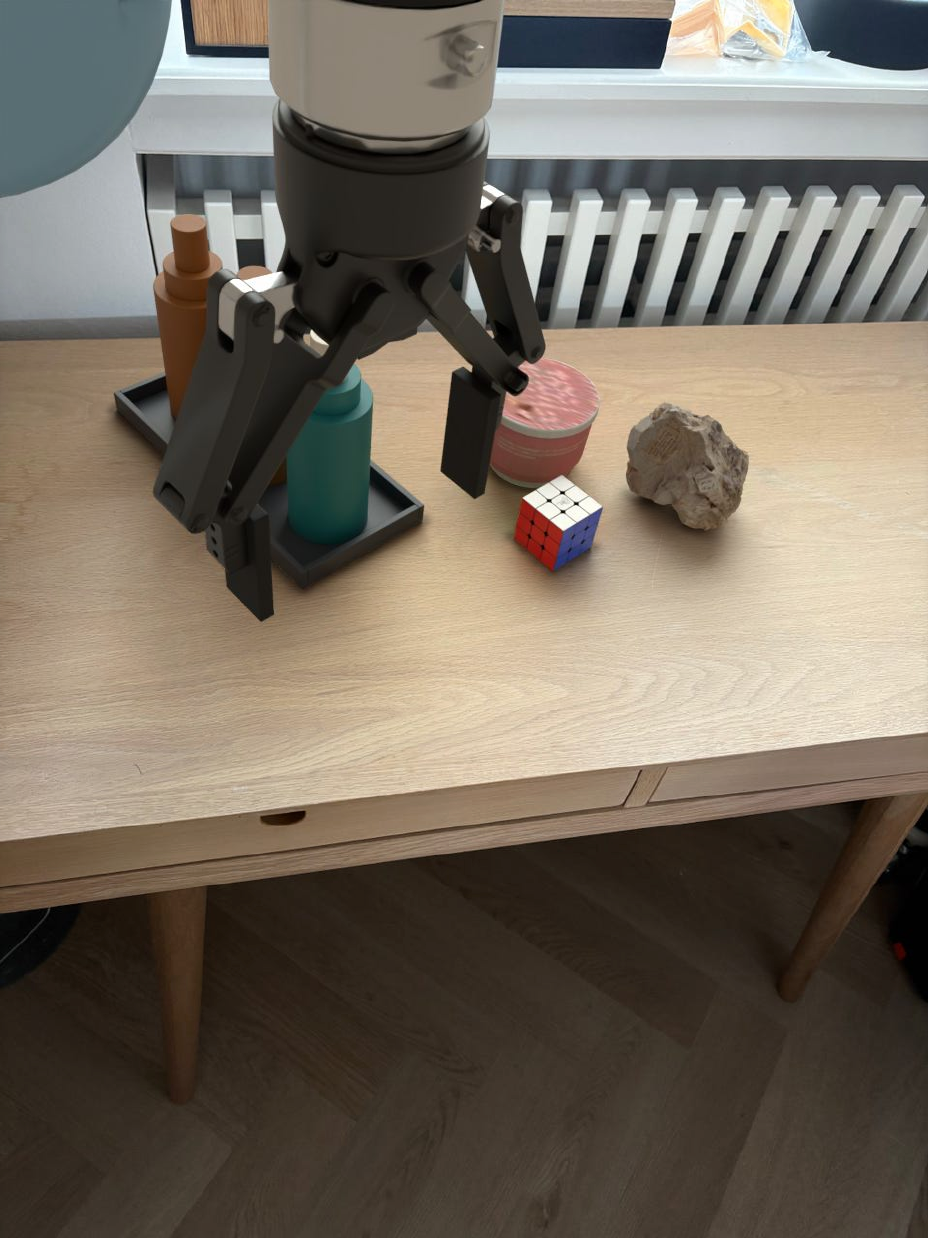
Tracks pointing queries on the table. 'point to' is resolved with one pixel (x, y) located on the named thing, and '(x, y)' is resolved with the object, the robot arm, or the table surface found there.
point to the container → (544, 424)
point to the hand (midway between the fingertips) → (363, 538)
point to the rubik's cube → (557, 522)
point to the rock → (686, 465)
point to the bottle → (332, 462)
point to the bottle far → (183, 302)
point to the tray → (286, 496)
